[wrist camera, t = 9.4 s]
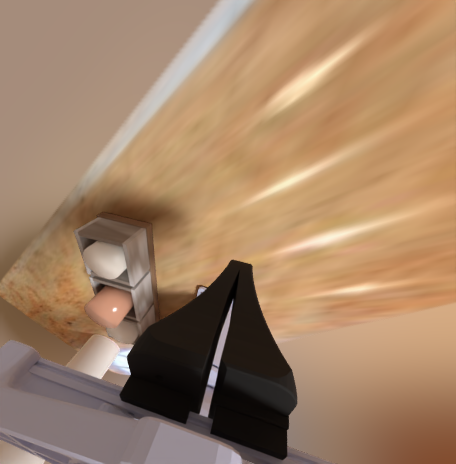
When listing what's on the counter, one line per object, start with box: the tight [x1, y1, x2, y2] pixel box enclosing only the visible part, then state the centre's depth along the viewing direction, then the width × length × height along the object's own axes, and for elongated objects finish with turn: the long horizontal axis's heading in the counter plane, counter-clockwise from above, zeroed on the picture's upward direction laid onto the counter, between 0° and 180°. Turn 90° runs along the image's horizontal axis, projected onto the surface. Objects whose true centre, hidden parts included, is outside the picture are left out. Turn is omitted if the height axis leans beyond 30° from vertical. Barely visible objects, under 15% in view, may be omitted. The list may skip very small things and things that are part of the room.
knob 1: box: [83, 241, 127, 279], centre depth 24 cm, size 5×5×4 cm
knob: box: [107, 321, 139, 344], centre depth 32 cm, size 5×5×4 cm
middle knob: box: [85, 285, 134, 328], centre depth 26 cm, size 5×5×4 cm
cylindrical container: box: [0, 334, 120, 464], centre depth 34 cm, size 7×7×25 cm
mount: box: [74, 212, 160, 345], centre depth 29 cm, size 21×7×4 cm, turn 173°
